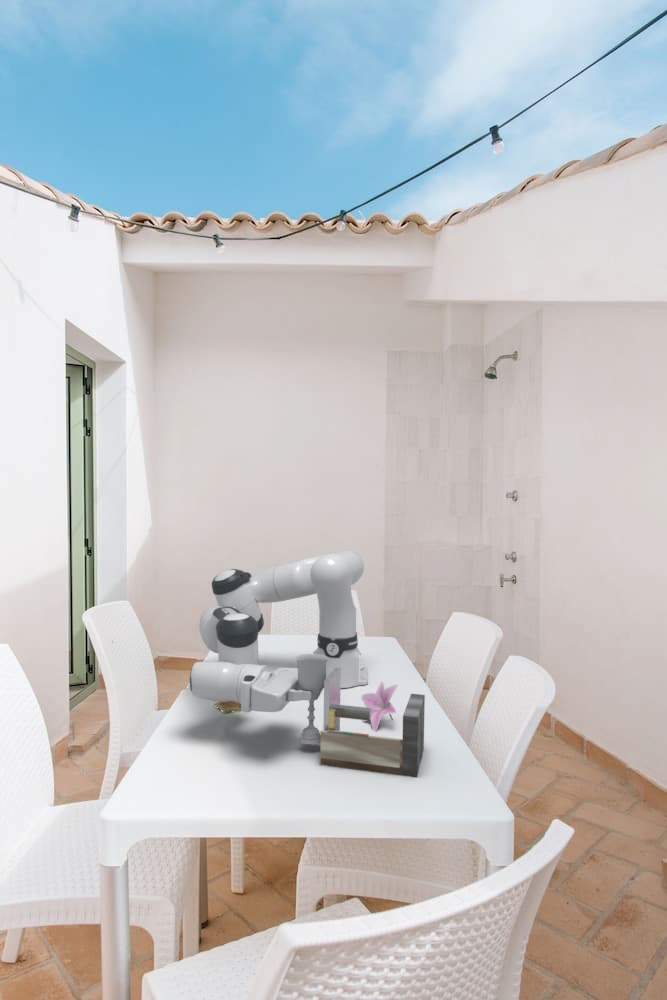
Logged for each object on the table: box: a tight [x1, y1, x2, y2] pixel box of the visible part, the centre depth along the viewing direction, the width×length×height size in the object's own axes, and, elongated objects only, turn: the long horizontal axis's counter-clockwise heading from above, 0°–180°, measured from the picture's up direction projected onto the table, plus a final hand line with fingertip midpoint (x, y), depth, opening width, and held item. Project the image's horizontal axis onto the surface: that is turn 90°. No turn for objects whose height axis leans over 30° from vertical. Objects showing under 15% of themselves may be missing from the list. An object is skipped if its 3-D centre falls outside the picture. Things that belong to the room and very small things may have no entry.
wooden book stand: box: [319, 693, 426, 778], centre depth 129 cm, size 14×20×12 cm
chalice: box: [295, 653, 329, 745], centre depth 132 cm, size 7×7×18 cm
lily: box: [360, 681, 399, 732], centre depth 148 cm, size 12×12×10 cm
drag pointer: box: [328, 709, 336, 731], centre depth 126 cm, size 1×1×9 cm
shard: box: [213, 701, 242, 713], centre depth 158 cm, size 11×8×2 cm
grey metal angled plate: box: [322, 667, 371, 731], centre depth 130 cm, size 11×9×15 cm
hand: (315, 691), depth 132 cm, fingers closed on chalice, 5 cm apart
